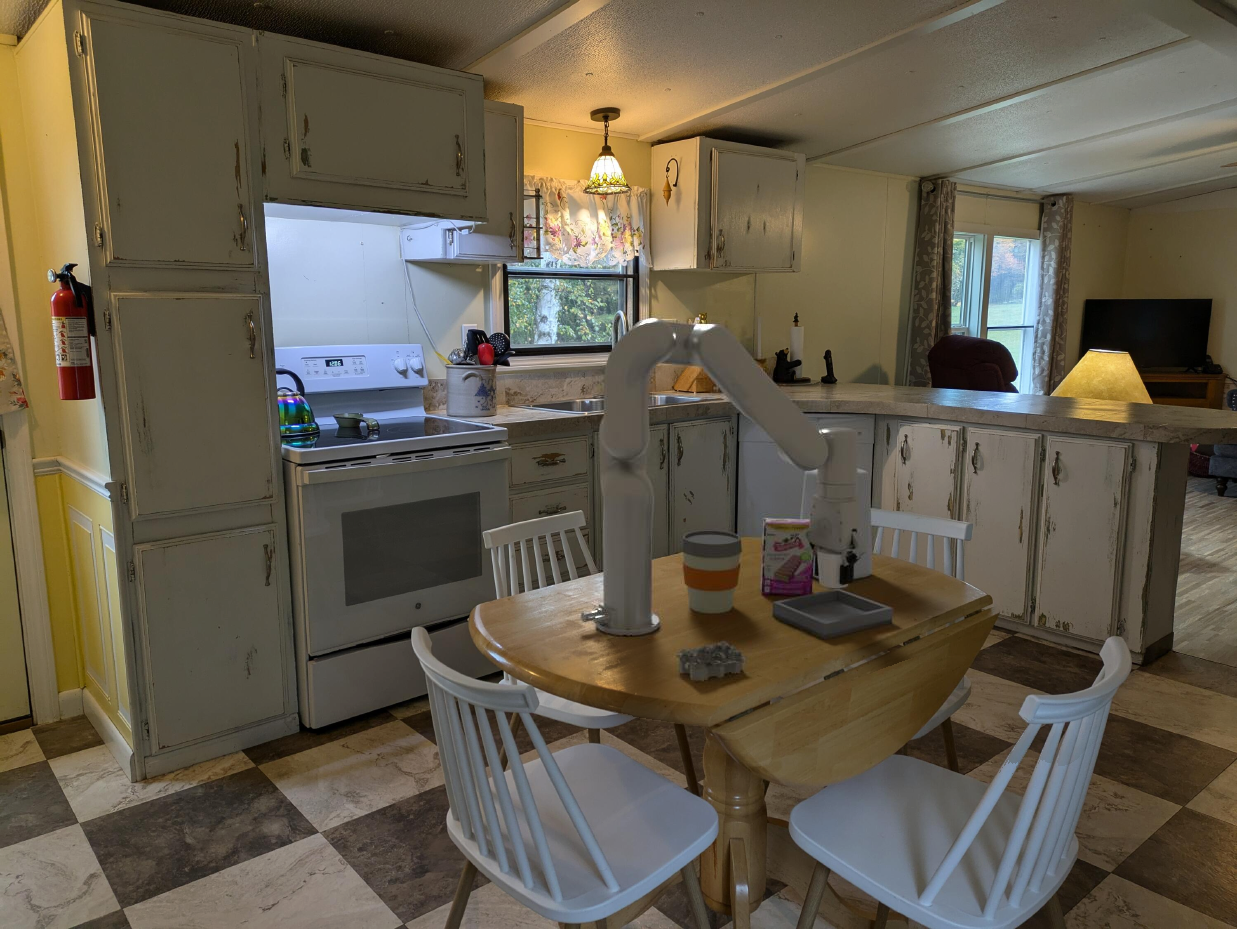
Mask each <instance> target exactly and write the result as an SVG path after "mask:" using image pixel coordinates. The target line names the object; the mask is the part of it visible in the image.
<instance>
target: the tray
mask: <svg viewBox="0 0 1237 929" xmlns="http://www.w3.org/2000/svg"><path fill="white" fill-rule="evenodd" d="M893 612H894V608H893V607H891V606H889V605H885V604H882V603H880V602H877V601H874V600H871V599H868V598H867V597H863V596H860V595H858V594H854V593H852V592H849V591H846V590H843V589H841V588H831V589H830V590H824V591H819V592H814V593H812V594H809V595H804V596H800V595H798V596H796V597H790V598H786V599H781V600H777V601H776V600H775V601H773V602H772V613H771V614H772V617H773V618H775V619H777V620H779V621H781V622H785V623H786V624H788V625H791V626H794V627H796V628H798V629H800V630H803V631H805V632H807V633H809V634H812V635H814V636H817V637H819V638H821V639H822V640H827V639H831V638H836V637H840V636H844V635H848V634H852V633H856V632H859V631H864V630H868V629H872V628H877V627H881V626H884V625H888V624H891V623H893V614H894V613H893Z"/></svg>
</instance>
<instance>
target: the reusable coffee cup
mask: <svg viewBox="0 0 1237 929" xmlns="http://www.w3.org/2000/svg"><path fill="white" fill-rule="evenodd" d="M681 551H682V553H683V561H682V570H683V578H684V579H683V580H684V584H685V586H686V587H687V588H686V589H687V595H688V596H687V597H688V604H689V608H690V609H691V610H693V611H694V612H699V613H702V614H703V613H704V614H722V613H726V612H729V611H730V610H731V611H732V608H733V604H734V597H735V590H736V587H737V586H738V583H739V578H740V577H739V576H740V569H741V563H740V555H741V554H742V552H743V549H742V538H741V536H740V535H738V534H737V533H733V532H730V531H723V530H715V529H714V530H713V529H711V530H709V529H708V530H697V531H696V530H695V531H690V532H689V531H688V532H686V533H684V534H683V535H682V542H681Z"/></svg>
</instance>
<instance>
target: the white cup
mask: <svg viewBox="0 0 1237 929" xmlns="http://www.w3.org/2000/svg"><path fill="white" fill-rule="evenodd" d="M846 553H847V557H849V556H850V553H849V552H846ZM817 557H818V570H819V579H818V581H819V583H818V584H819V585H820V586H823V587H826V588H830V589H837V588H838V589H841V588H847V587H848V586H849V584H846V585H841V584H840V583H839V580H840V565H842V564H843V563H842V559H841V554H840V552H837V551H834V550H830V549H827V548H824V547H821V548H818V549H817Z"/></svg>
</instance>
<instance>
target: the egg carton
mask: <svg viewBox="0 0 1237 929" xmlns="http://www.w3.org/2000/svg"><path fill="white" fill-rule="evenodd" d="M675 657H676V659H677V658H678V659H679V662H678V671H679V673H681V672H682V673H683V674H687V673H690V674H689V679H690V678H691V679H692V680H691V679H690V680H691V681H693V680H696V681H697V680H702V681H704V680H705V681H704V682H707V681H706V680H708V679H709V678H711V677H710V676H717V677H716V678H718V677H719V679H720V677H721V678H723V676H724V677H725V674H734V673H735V675H737V674H736V673H739V674H741V671H742V670H743V664H744V663H745V660H747V656H743V654H742V652H741V651H738V650H737V649H736V648H734V646H732V645H731V646H730V644H729V643H728V642H727V641H726V640H722V641H720V642H719V643H716V644H710V645H709V646H707V645H706V644H705V645H703V646H701V647H696V648H692V649H686V648H685V649H680V650H679V651H678V653H677V654H676V655H675ZM729 672H731V673H729ZM682 673H681V674H682ZM724 673H725V674H724ZM708 677H709V678H708ZM702 681H701V682H702ZM708 681H709V680H708Z"/></svg>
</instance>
